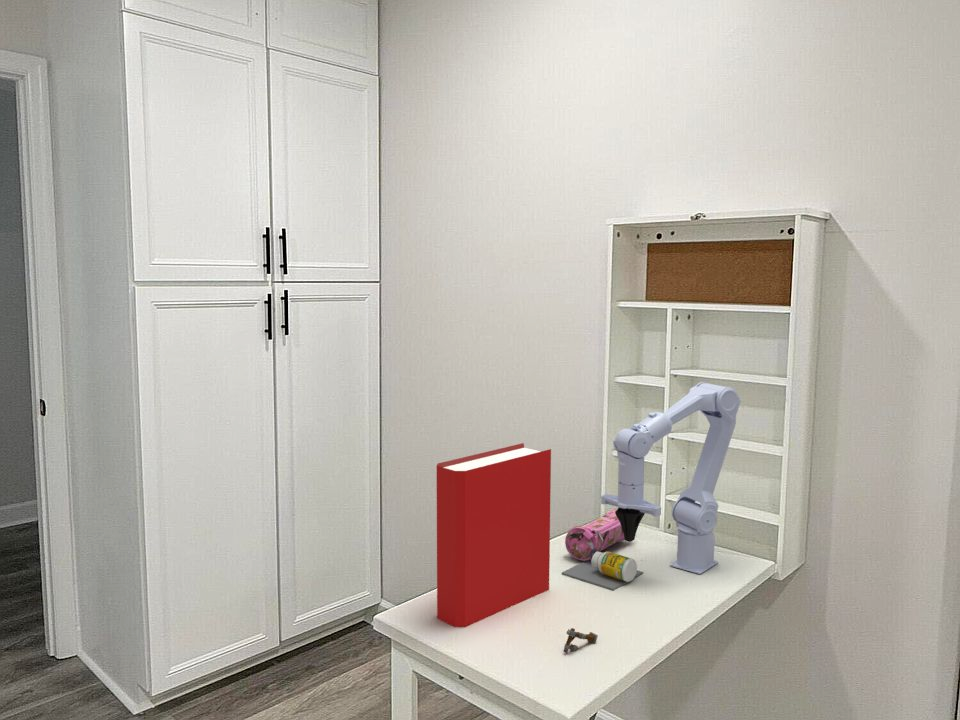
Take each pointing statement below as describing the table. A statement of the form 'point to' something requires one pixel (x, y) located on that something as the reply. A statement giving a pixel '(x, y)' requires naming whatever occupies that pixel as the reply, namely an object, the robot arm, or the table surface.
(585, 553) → the pencil case
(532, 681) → the table surface
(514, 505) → the book
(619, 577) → the supplement bottle
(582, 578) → the slate mat
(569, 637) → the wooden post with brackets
